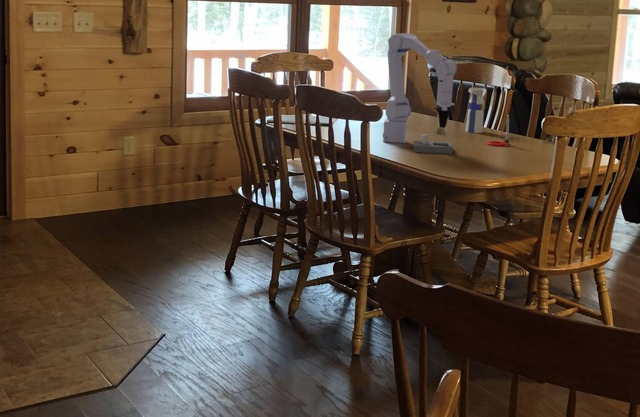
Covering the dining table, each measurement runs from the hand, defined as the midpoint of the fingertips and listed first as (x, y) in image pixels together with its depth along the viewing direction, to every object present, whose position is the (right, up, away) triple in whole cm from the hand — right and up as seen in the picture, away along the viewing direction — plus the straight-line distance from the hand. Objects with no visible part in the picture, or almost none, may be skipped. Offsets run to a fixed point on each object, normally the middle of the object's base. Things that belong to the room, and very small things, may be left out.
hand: (442, 126), depth 341 cm
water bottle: (+22, +2, +51) cm, 56 cm away
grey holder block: (-3, -9, +3) cm, 10 cm away
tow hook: (+26, -6, +21) cm, 34 cm away
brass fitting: (0, -3, +1) cm, 3 cm away
